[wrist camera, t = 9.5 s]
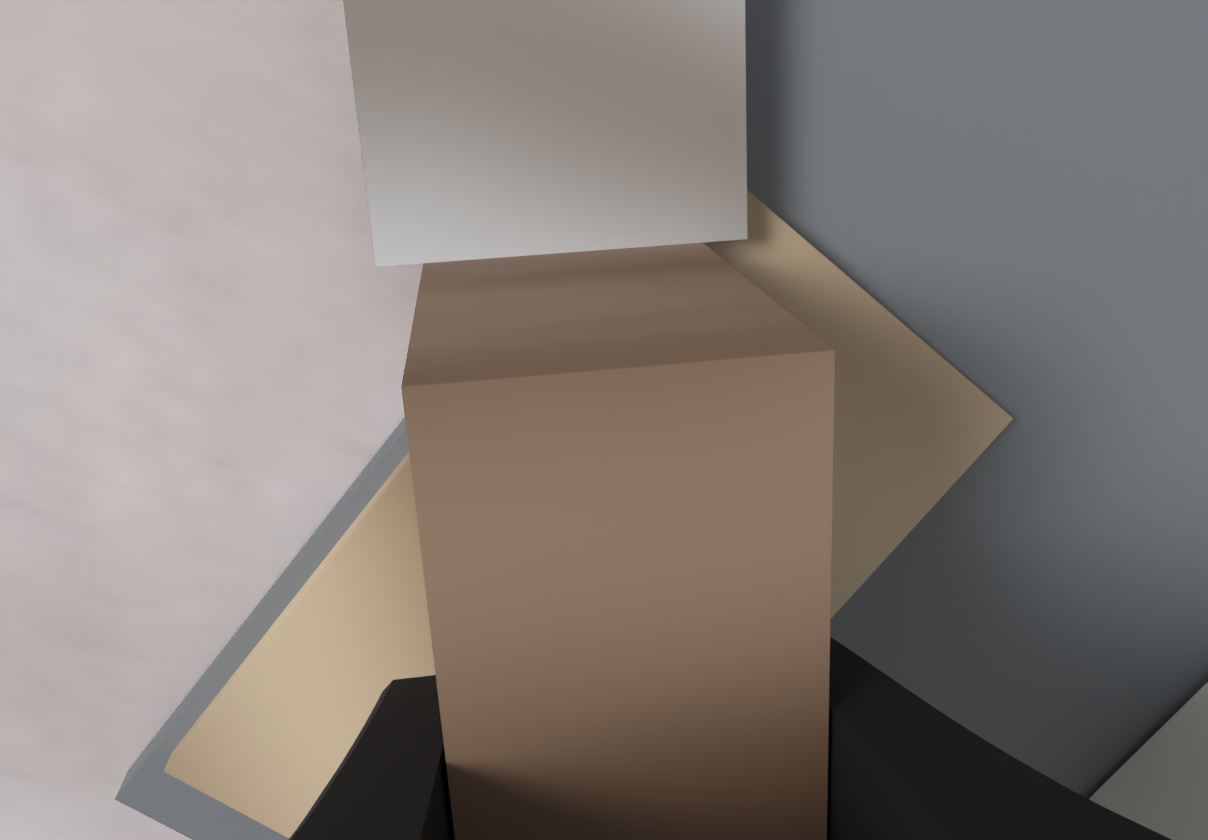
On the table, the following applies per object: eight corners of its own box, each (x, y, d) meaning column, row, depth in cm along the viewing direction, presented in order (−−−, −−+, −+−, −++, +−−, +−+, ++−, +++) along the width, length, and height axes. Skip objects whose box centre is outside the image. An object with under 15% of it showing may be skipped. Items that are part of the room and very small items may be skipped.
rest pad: (667, 124, 12) (673, 126, 12) (999, 409, 14) (1013, 418, 14) (171, 752, 14) (164, 771, 14) (517, 939, 16) (518, 961, 15)
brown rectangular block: (744, 874, 15) (869, 1239, 11) (457, 912, 15) (456, 1309, 10) (733, -57, 11) (921, -128, 7) (343, -38, 11) (256, -100, 6)
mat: (1502, -986, 11) (1560, -1043, 10) (2140, 147, 16) (2204, 151, 15) (128, 770, 15) (115, 799, 14) (975, 1218, 20) (990, 1252, 19)
